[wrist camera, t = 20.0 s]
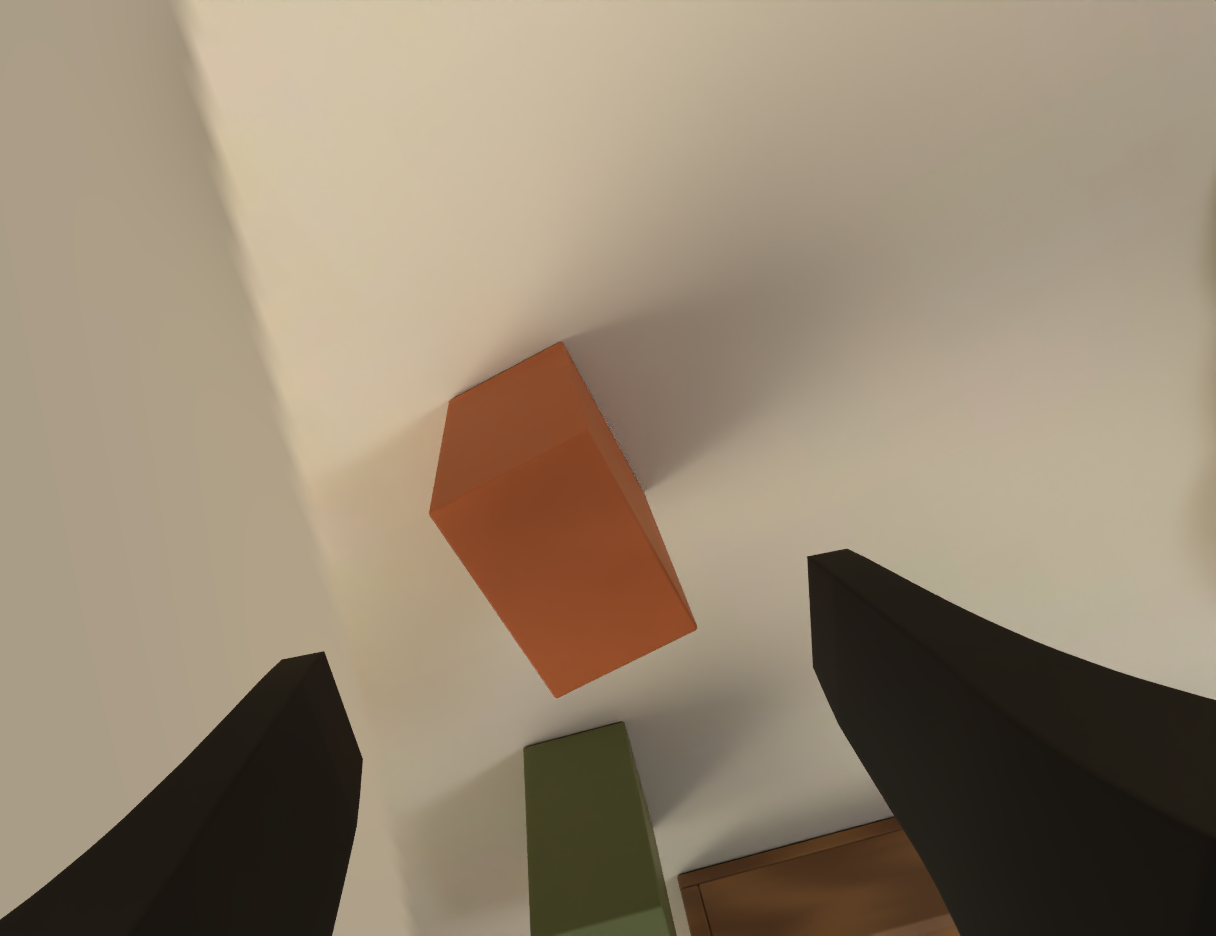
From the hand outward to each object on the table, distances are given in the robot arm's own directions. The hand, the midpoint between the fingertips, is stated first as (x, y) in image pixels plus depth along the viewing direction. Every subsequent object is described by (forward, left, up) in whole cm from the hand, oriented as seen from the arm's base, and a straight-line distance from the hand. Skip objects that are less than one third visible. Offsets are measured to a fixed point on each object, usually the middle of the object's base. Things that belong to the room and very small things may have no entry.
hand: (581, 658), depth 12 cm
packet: (-1, -11, -8) cm, 14 cm away
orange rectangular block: (0, 0, -8) cm, 8 cm away
